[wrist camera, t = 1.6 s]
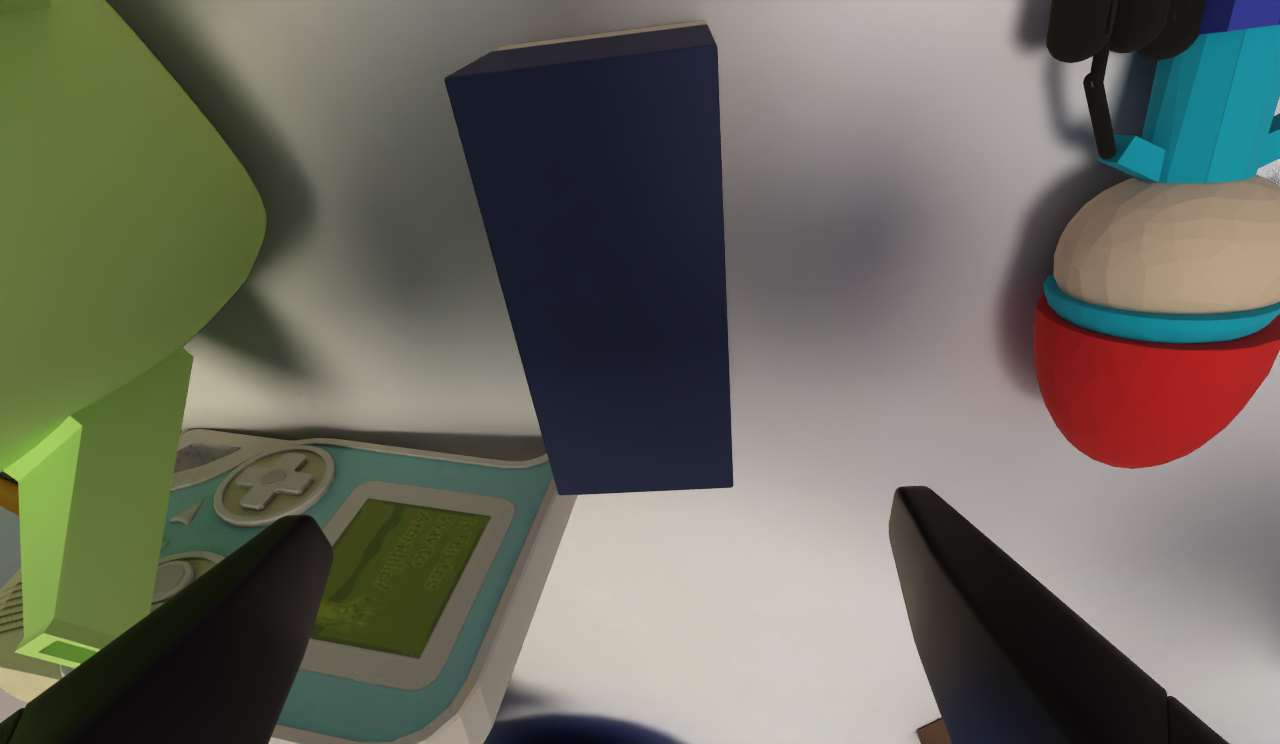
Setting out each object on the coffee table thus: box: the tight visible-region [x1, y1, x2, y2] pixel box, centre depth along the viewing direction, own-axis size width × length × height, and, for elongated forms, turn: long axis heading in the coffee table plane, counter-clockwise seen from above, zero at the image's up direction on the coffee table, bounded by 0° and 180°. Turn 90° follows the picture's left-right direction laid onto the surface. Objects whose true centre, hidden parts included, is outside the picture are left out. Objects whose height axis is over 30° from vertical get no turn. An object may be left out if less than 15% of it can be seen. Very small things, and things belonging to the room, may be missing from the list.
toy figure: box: [1033, 0, 1280, 469], centre depth 14 cm, size 8×5×15 cm
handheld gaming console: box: [0, 429, 577, 744], centre depth 19 cm, size 11×3×15 cm
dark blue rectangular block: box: [445, 20, 733, 496], centre depth 16 cm, size 11×5×4 cm, turn 7°
